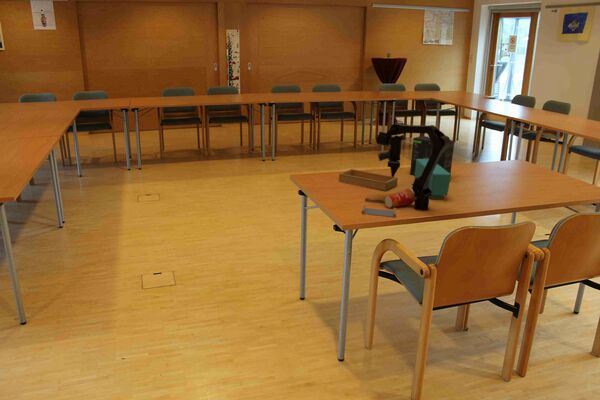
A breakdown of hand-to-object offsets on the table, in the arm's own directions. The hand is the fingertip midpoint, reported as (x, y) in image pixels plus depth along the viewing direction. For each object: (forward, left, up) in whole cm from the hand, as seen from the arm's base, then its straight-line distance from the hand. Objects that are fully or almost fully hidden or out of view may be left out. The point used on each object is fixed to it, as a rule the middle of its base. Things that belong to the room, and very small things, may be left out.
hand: (392, 176), depth 272 cm
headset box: (-23, -57, -13) cm, 63 cm away
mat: (+5, +23, -13) cm, 26 cm away
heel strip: (+5, +6, -13) cm, 15 cm away
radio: (-22, -24, -13) cm, 35 cm away
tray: (+14, -28, -14) cm, 34 cm away
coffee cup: (+1, +13, -10) cm, 17 cm away
